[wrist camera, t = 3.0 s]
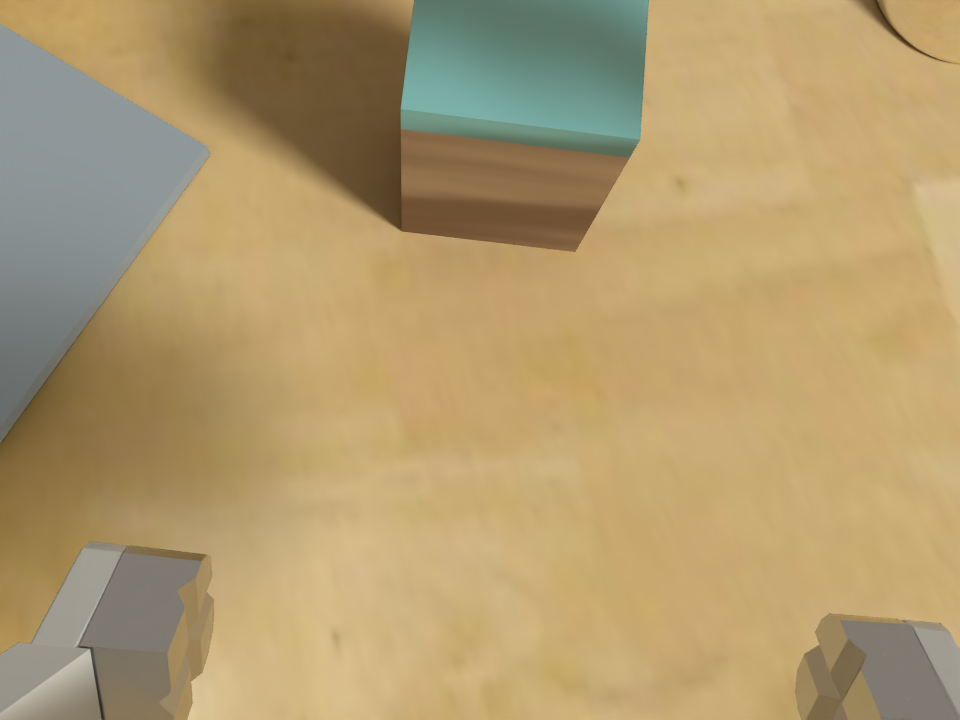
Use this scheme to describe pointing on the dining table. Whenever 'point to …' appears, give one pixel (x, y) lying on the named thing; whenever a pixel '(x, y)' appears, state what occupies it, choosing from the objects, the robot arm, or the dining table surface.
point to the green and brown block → (518, 116)
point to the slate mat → (71, 205)
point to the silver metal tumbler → (927, 25)
